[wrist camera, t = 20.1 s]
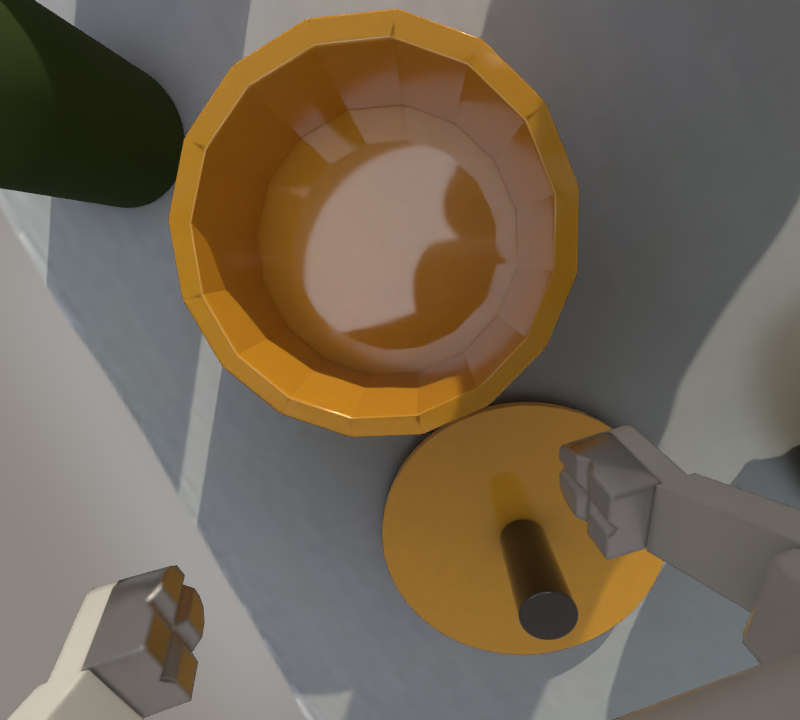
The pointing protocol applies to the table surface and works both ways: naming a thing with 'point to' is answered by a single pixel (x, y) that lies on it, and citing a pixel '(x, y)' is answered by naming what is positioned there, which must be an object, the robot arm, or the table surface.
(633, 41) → the table surface
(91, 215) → the table surface
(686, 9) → the table surface
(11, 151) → the avocado
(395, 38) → the pot
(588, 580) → the lid
